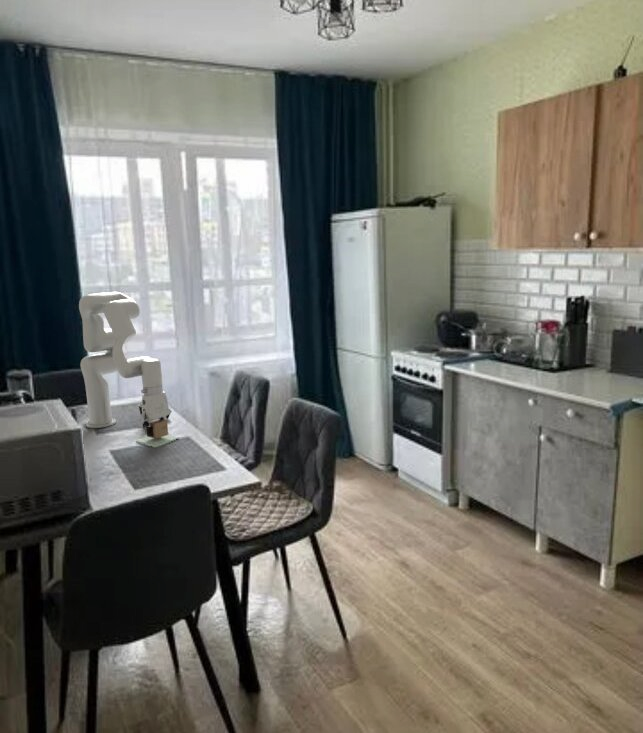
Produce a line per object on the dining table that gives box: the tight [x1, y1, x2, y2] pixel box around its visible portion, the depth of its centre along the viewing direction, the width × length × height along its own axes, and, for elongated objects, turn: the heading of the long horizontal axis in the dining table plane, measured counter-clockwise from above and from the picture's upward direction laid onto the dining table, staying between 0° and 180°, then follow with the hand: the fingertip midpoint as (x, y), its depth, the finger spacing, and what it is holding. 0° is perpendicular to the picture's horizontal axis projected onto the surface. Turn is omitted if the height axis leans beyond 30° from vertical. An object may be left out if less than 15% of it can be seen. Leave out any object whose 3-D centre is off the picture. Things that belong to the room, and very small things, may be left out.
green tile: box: [135, 434, 180, 448], centre depth 239 cm, size 12×12×1 cm
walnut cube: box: [145, 419, 169, 439], centre depth 238 cm, size 6×6×6 cm
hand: (157, 433), depth 238 cm, fingers closed on walnut cube, 6 cm apart
